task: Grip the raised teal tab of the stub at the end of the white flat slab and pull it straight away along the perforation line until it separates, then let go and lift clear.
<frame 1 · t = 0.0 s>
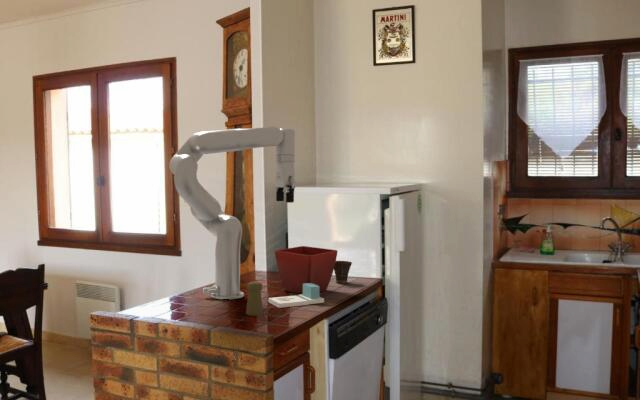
hand: (284, 201, 238), 37 cm above the table, tool pointing down, fingers open, 9 cm apart
cup: (341, 283, 260), on the table
olive green pepper shaker: (254, 313, 203), on the table
plant pot: (305, 291, 242), on the table
stub: (310, 292, 223), point 3 cm above the table, slide at 0.0 cm
white flat slab: (288, 303, 219), on the table
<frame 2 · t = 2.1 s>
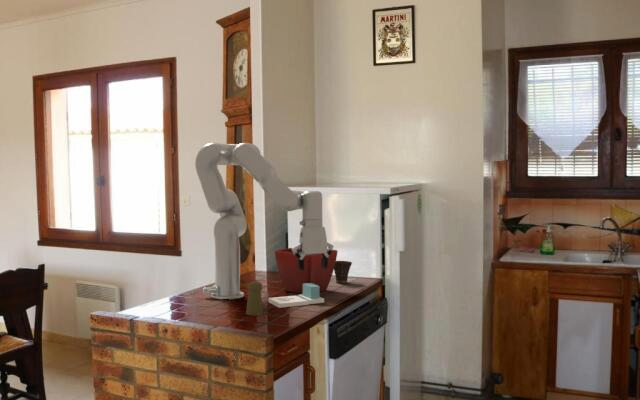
hand: (313, 268, 222), 12 cm above the table, tool pointing down, fingers open, 9 cm apart
nothing on the table moved.
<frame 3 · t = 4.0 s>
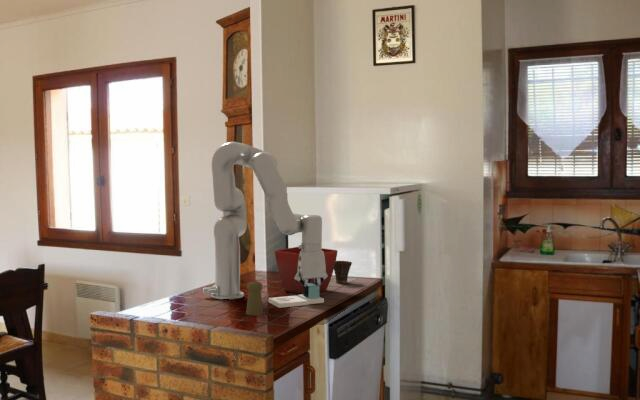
hand: (310, 295, 223), 2 cm above the table, tool pointing down, fingers closed on stub, 3 cm apart
stub: (310, 292, 223), point 3 cm above the table, slide at 0.0 cm, touching gripper
everything else where it was.
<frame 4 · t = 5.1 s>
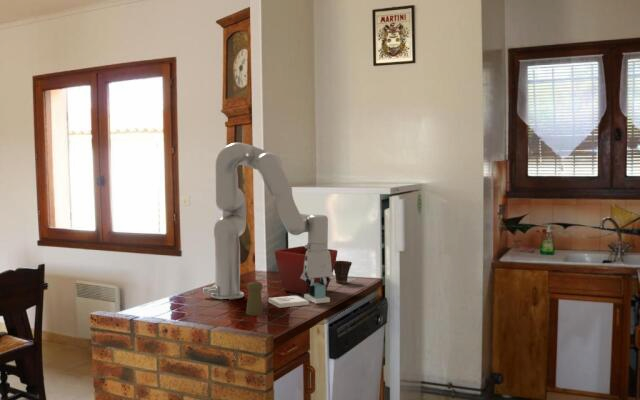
hand: (316, 294, 224), 2 cm above the table, tool pointing down, fingers closed on stub, 3 cm apart
stub: (316, 292, 224), point 3 cm above the table, slide at 2.6 cm, touching gripper
everything else where it was.
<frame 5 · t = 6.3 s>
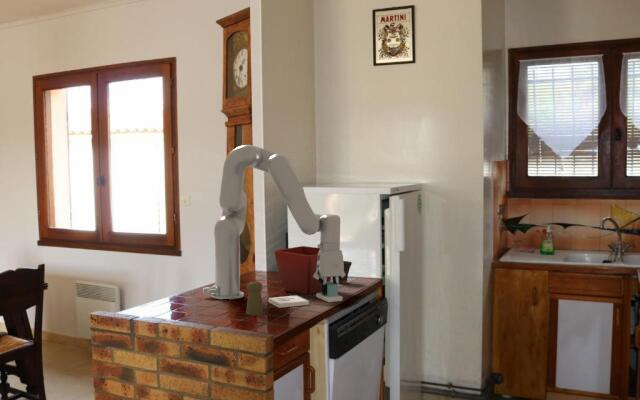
hand: (329, 293, 227), 2 cm above the table, tool pointing down, fingers closed on stub, 3 cm apart
stub: (329, 291, 226), point 3 cm above the table, slide at 7.9 cm, touching gripper
everything else where it was.
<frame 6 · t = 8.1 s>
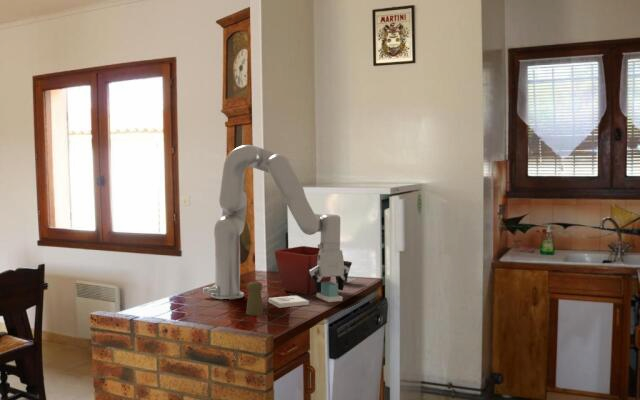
hand: (329, 290, 226), 3 cm above the table, tool pointing down, fingers open, 9 cm apart
stub: (329, 291, 226), point 3 cm above the table, slide at 8.0 cm
everything else where it was.
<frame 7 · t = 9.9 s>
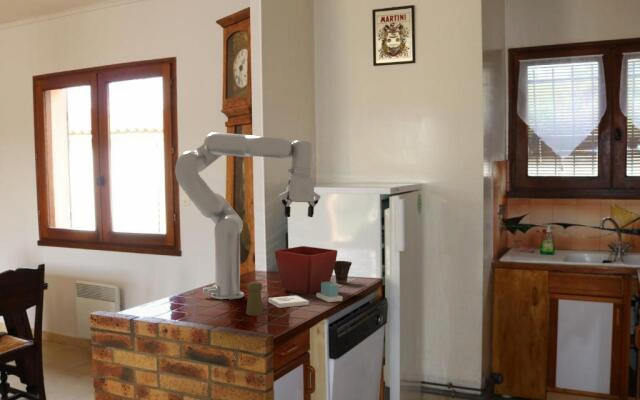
hand: (299, 216, 227), 32 cm above the table, tool pointing down, fingers open, 9 cm apart
nothing on the table moved.
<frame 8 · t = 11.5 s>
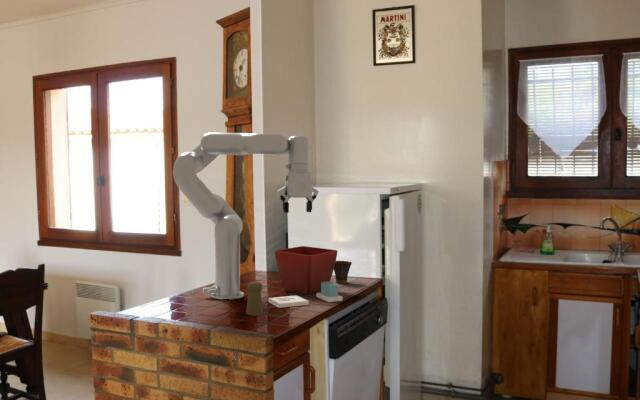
hand: (297, 212, 227), 33 cm above the table, tool pointing down, fingers open, 9 cm apart
nothing on the table moved.
at the end: stub slide at 8.0 cm; the gripper is holding nothing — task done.
